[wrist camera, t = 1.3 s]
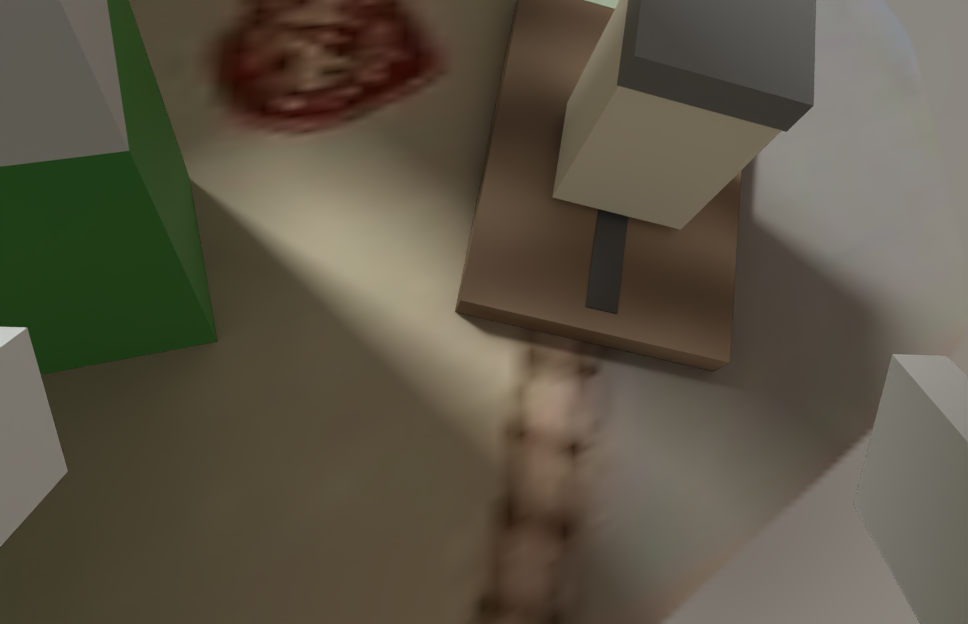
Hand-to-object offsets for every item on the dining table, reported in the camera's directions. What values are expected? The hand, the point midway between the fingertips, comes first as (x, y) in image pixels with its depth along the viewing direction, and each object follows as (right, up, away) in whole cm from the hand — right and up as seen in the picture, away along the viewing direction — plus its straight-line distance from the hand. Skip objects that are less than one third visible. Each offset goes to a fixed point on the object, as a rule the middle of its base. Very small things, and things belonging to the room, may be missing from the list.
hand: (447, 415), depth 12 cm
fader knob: (+7, +8, +23) cm, 25 cm away
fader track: (+8, +14, +27) cm, 32 cm away
